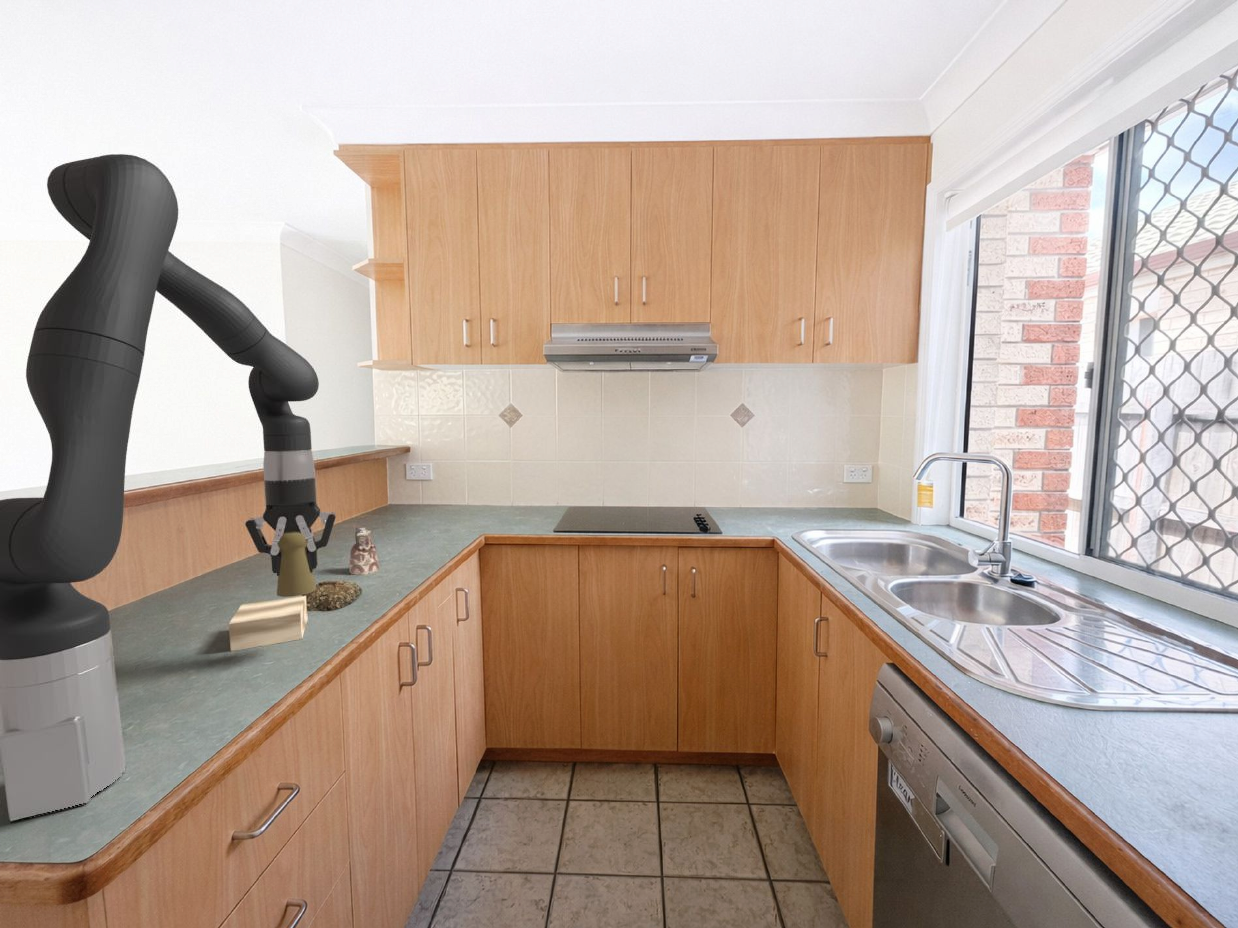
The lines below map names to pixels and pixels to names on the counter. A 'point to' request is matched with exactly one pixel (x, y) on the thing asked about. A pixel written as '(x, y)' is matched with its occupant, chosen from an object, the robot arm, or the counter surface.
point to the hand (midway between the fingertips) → (295, 572)
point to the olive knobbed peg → (294, 566)
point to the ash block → (268, 623)
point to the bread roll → (332, 595)
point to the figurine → (363, 553)
